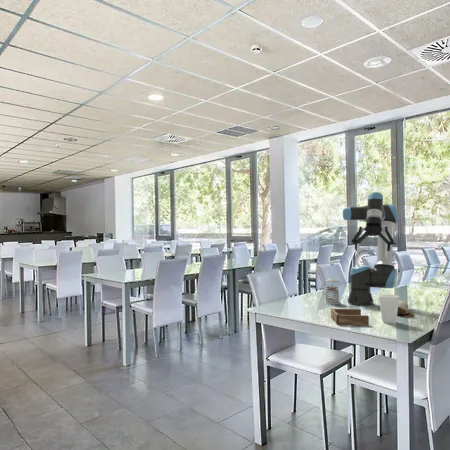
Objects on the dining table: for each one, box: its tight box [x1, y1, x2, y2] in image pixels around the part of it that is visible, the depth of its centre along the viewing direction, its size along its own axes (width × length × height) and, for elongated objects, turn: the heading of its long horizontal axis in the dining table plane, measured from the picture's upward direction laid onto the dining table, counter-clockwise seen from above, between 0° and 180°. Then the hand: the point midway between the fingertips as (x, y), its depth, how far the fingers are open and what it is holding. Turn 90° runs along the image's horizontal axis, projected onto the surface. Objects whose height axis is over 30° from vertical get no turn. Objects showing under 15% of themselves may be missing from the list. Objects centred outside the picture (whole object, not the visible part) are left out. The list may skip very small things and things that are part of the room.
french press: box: [320, 262, 341, 305], centre depth 247 cm, size 10×12×25 cm
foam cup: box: [378, 293, 400, 324], centre depth 195 cm, size 10×9×13 cm
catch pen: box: [330, 308, 370, 326], centre depth 197 cm, size 16×15×4 cm
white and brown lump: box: [397, 300, 415, 318], centre depth 212 cm, size 12×10×10 cm
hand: (371, 256), depth 196 cm, fingers open, 13 cm apart
